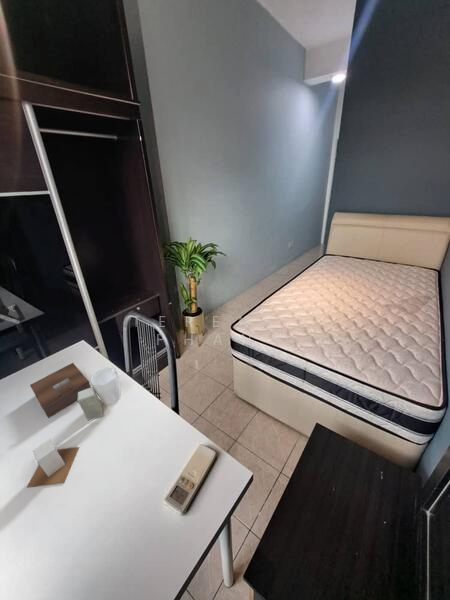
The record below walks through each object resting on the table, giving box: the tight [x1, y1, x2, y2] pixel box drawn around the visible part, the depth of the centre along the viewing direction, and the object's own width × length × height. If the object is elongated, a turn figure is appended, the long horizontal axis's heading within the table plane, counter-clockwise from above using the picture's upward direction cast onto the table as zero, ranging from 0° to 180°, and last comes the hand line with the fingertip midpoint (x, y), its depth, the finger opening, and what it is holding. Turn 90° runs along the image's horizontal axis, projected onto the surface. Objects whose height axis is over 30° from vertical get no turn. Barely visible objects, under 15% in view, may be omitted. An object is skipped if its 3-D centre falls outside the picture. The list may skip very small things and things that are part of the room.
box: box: [76, 386, 105, 421], centre depth 86 cm, size 5×4×11 cm
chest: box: [43, 382, 92, 419], centre depth 96 cm, size 16×16×6 cm
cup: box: [90, 367, 123, 406], centre depth 92 cm, size 9×9×12 cm
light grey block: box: [32, 438, 65, 477], centre depth 72 cm, size 4×4×8 cm
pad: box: [26, 446, 80, 488], centre depth 74 cm, size 10×10×1 cm
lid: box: [29, 362, 90, 411], centre depth 93 cm, size 16×16×5 cm
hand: (6, 337), depth 86 cm, fingers open, 8 cm apart
